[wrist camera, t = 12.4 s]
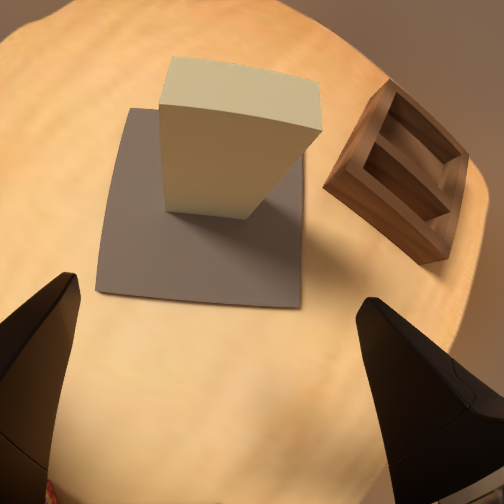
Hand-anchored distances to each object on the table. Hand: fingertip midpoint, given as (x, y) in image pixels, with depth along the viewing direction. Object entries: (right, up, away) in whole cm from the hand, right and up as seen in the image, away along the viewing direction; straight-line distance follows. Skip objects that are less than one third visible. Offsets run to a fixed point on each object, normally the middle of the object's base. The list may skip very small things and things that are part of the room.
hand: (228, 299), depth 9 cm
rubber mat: (-3, +5, +14) cm, 16 cm away
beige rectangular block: (-3, +5, +14) cm, 15 cm away
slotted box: (+15, +9, +20) cm, 27 cm away
